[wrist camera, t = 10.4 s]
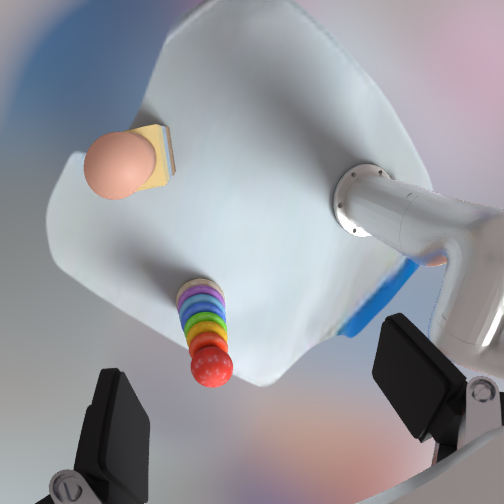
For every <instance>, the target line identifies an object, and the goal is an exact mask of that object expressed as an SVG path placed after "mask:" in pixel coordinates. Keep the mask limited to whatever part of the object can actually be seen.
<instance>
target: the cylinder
mask: <svg viewBox="0 0 504 504" xmlns="http://www.w3.org/2000/svg"><path fill="white" fill-rule="evenodd" d="M156 162H157V156H156V151H155V148H154V146H153V144H152V143H151V142H150V141H149V140H148V139H147V138H146V137H144V136H142V135H139V134H134V133H125V132H111V133H107V134H105V135H103V136H101V137H99V138H98V139H97V140H96V141H95V142H94V143H93V144H92V145H91V147H90V148H89V150H88V151H87V154H86V156H85V160H84V174H85V178H86V181H87V183H88V185H89V186H90V188H91V189H92V190H93V191H94V192H95V193H96V194H98V195H99V196H101V197H103V198H106V199H112V200H117V199H122V198H125V197H128V196H130V195H131V194H133V193H134V192H135V191H136V190H137V189H138V188H139V187H140V186H141V185H142V184H144V183H145V182H146V181H147V180H148V179H149V178H150V176H151V175H152V173H153V172H154V170H155V167H156Z"/></svg>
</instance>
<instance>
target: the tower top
mask: <svg viewBox="0 0 504 504" xmlns="http://www.w3.org/2000/svg"><path fill="white" fill-rule="evenodd" d="M123 132H125V133H134V134H139V135H142V136H144V137H146V138H147V139H148V140H149V141H150V142H151V143H152V144H153V146H154V148H155V151H156V156H157V162H156V167H155V170H154V172H153V173H152V175H151V176H150V178H149V179H148V180H147V181H146V182H145V183H144V184H142V185H141V186H140V187H139V188H138V189H137V190H136V191H139V190H144V189H149V188H154V187H158V186H163V185H166V184H167V182H168V180H169V172H168V166H167V160H166V153H165V146H164V139H163V132H162V127H161V126H160V125H158V124H154V125H149V126H145V127H140V128H136V129H132V130H127V131H123Z"/></svg>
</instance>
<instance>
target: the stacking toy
mask: <svg viewBox="0 0 504 504" xmlns="http://www.w3.org/2000/svg"><path fill="white" fill-rule="evenodd" d="M176 305H177V309H178V313H179V318H180V322H181V326H182V330H183V331H184V334H185V337H186V341H187V345H188V347H189V353H190V356H191V358H192V361H191V372H192V374H193V376H194V378H195V380H196V381H197V382H198V383H200V384H201V385H203V386H206V387H218V386H221V385H223V384H225V383H226V382H227V381H228V380H229V379H230V377H231V375H232V372H233V363H232V360H231V358H230V356H229V355H228V354H227V353H228V345H227V327H226V319H225V299H224V294H223V291H222V290H221V288H220V287H219V286H218V285H217V284H216V283H214V282H212V281H210V280H207V279H194V280H190V281H188V282H187V283H185V284H184V285H183V286H182V287H181V288H180V289H179V291H178V293H177V296H176Z"/></svg>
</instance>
